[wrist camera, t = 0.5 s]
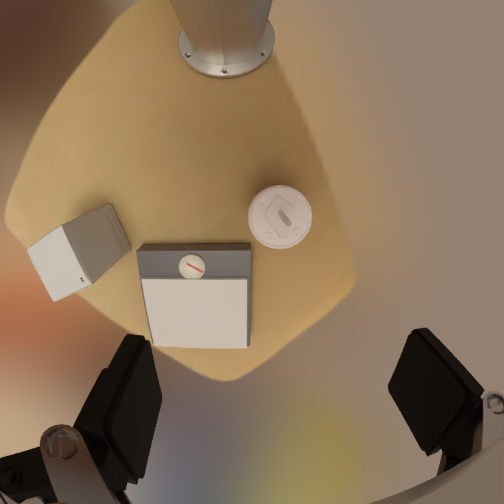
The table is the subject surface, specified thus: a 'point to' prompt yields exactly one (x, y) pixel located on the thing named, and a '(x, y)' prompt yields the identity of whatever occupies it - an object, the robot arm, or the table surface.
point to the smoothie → (279, 216)
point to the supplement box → (79, 252)
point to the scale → (197, 294)
